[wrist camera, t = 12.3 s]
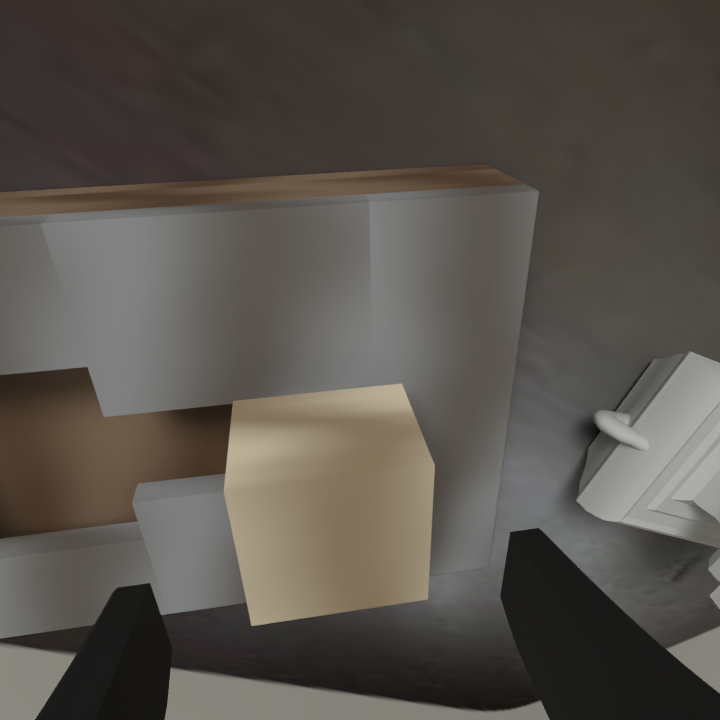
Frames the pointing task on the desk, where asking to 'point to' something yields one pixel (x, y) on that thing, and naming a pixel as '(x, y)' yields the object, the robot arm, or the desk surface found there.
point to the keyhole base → (237, 362)
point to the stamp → (662, 455)
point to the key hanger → (329, 502)
